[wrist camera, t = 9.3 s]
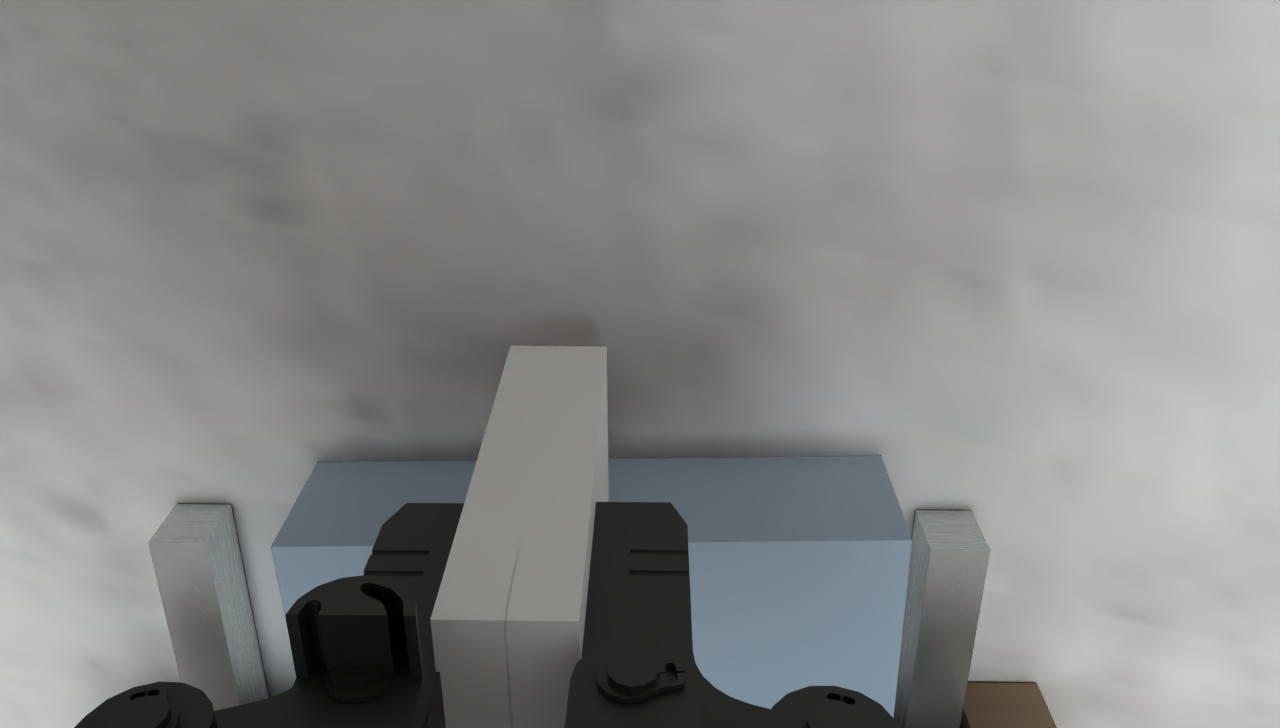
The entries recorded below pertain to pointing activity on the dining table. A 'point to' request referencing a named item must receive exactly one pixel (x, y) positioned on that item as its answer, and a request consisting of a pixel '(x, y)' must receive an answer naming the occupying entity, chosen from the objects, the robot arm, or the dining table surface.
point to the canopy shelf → (929, 657)
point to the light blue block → (691, 557)
